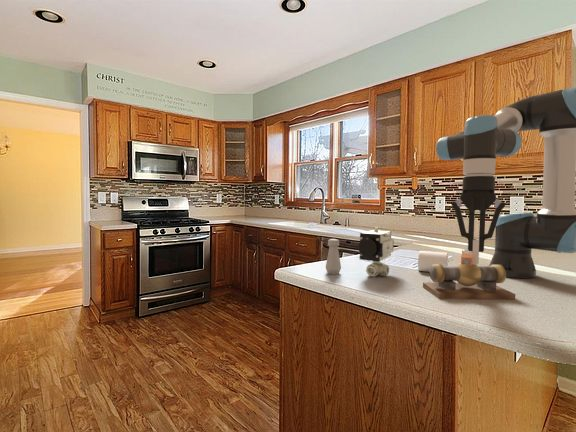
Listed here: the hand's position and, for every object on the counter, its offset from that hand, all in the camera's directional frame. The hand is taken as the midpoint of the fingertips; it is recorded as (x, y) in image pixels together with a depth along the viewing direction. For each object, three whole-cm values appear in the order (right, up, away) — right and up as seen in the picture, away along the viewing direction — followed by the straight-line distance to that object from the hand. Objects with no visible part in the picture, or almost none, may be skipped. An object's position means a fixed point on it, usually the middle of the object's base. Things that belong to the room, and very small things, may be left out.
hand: (475, 263), depth 93 cm
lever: (+1, 0, +5) cm, 5 cm away
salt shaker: (-34, -9, +37) cm, 51 cm away
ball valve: (-18, -9, +35) cm, 40 cm away
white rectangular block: (+7, -9, +42) cm, 44 cm away
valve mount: (+4, -11, +12) cm, 17 cm away
